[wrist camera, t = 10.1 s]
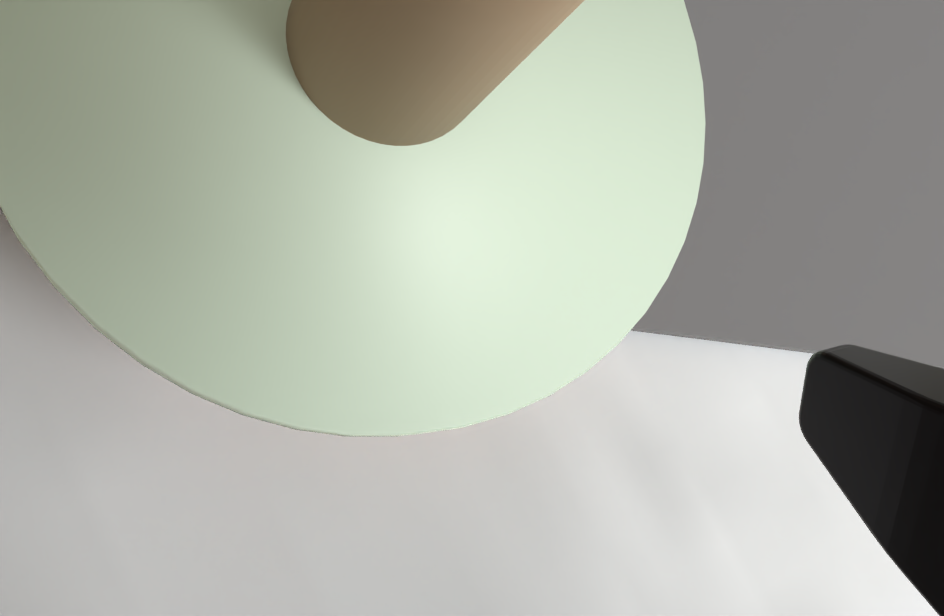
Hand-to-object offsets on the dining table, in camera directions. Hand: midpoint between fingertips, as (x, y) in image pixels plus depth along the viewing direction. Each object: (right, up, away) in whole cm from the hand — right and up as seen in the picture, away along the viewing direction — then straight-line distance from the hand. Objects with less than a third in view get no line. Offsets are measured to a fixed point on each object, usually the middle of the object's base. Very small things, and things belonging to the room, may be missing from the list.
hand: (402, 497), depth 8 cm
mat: (+12, +8, +20) cm, 25 cm away
